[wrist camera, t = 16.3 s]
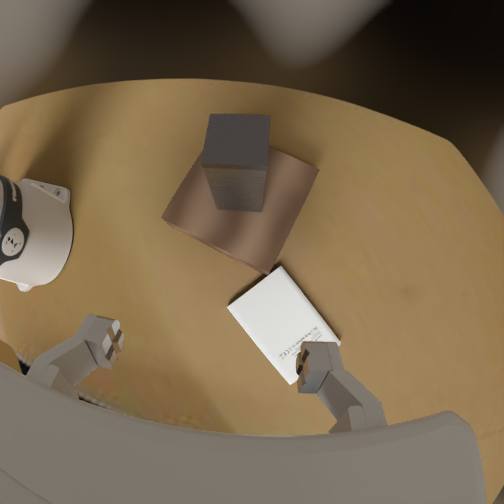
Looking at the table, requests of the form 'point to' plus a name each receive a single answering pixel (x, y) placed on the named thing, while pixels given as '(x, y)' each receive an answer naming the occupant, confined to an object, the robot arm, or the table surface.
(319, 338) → the external hard drive
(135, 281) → the table surface
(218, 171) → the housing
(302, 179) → the stand
